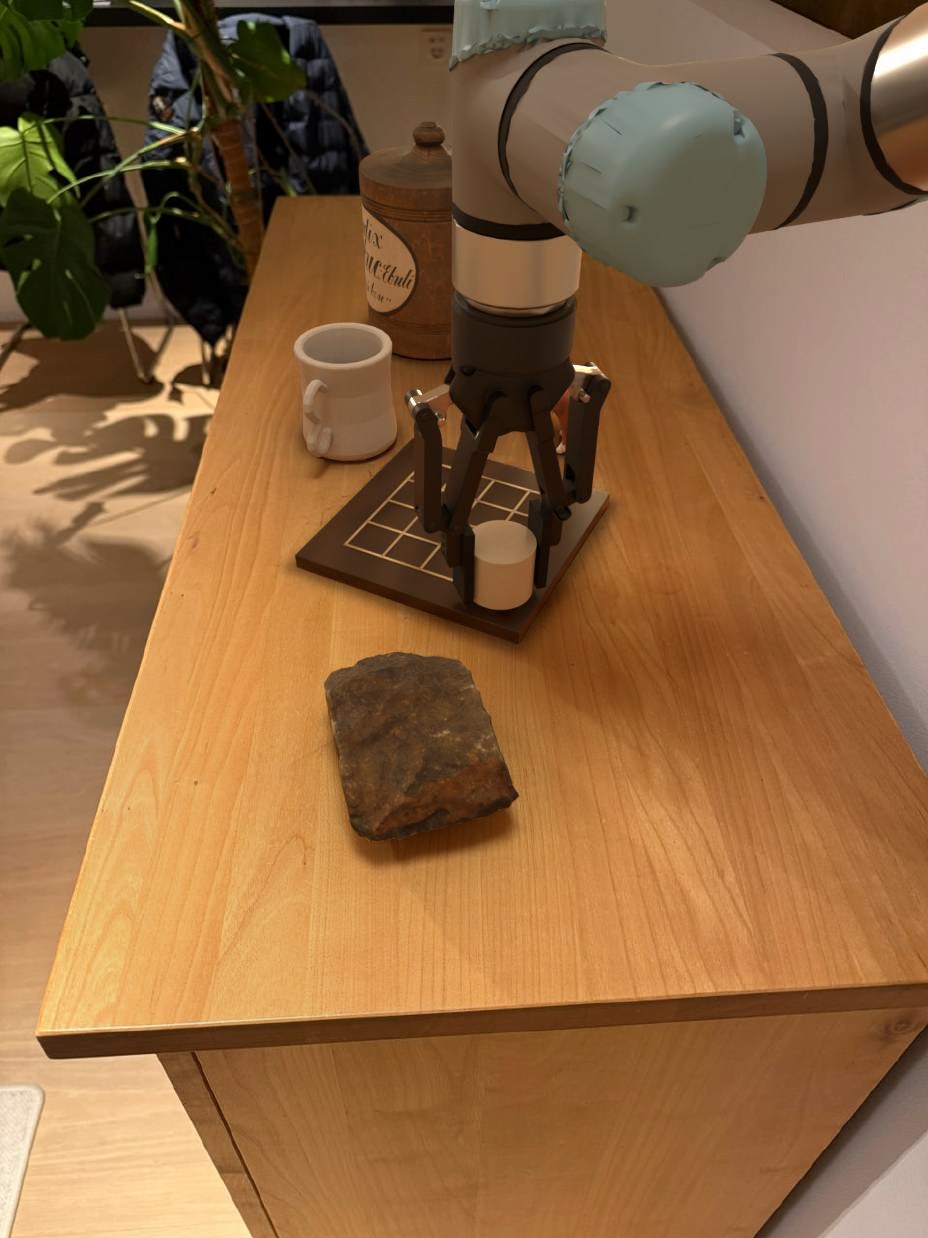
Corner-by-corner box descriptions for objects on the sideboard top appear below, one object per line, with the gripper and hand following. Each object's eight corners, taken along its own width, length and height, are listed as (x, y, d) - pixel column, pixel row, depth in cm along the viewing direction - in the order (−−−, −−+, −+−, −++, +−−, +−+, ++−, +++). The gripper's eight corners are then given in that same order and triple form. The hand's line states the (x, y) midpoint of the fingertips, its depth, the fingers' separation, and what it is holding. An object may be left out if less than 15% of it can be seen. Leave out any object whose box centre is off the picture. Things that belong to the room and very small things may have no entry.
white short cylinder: (543, 577, 71) (547, 531, 68) (516, 618, 68) (519, 572, 65) (483, 557, 73) (484, 512, 70) (453, 596, 69) (454, 550, 66)
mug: (330, 407, 93) (321, 314, 87) (412, 425, 91) (409, 330, 84) (270, 471, 85) (254, 373, 78) (358, 492, 83) (350, 393, 76)
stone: (467, 681, 66) (461, 619, 62) (524, 831, 55) (521, 767, 52) (330, 713, 65) (315, 651, 61) (361, 873, 54) (345, 810, 50)
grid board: (608, 504, 82) (610, 492, 81) (518, 644, 69) (519, 631, 68) (413, 448, 88) (412, 436, 87) (296, 566, 75) (294, 553, 74)
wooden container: (358, 311, 110) (343, 108, 95) (475, 297, 113) (479, 98, 98) (384, 368, 100) (372, 150, 85) (513, 351, 103) (523, 139, 88)
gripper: (625, 248, 59) (587, 533, 75) (349, 283, 54) (371, 578, 70) (681, 296, 54) (628, 591, 70) (381, 338, 49) (398, 643, 65)
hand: (499, 584), depth 70 cm, fingers closed on white short cylinder, 5 cm apart
